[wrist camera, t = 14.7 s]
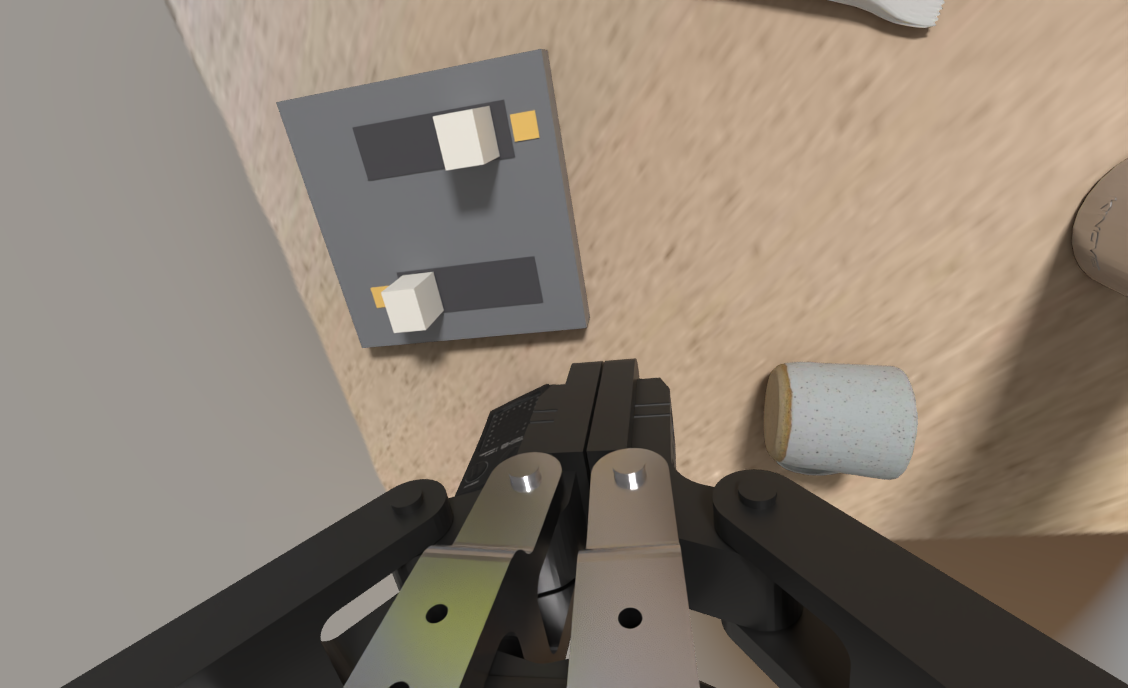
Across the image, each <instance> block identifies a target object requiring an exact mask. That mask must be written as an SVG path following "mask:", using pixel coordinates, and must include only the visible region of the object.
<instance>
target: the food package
mask: <svg viewBox="0 0 1128 688" xmlns="http://www.w3.org/2000/svg"><path fill="white" fill-rule="evenodd" d="M829 1H834V2H838V3H843V4H847V5H851V6H855V7H858V8H861V9H863V10H866V11H869V12H871V13H873V14H875V15H877V16H879V17H881V18H883V19H885V20H888V21H890V22H893V23H896V24H900V25H904V26H910V27H918V28H927V27H931V26H936V24H935V23H934V22H935V21H937V20H938V18H937V17H936V16H938V15H940V13H939V10H941V9H943V8H942V7H941V5H942V4H944V3H945V2H944V1H943V0H829Z"/></svg>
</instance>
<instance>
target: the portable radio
mask: <svg viewBox="0 0 1128 688" xmlns="http://www.w3.org/2000/svg"><path fill="white" fill-rule="evenodd" d="M550 386H551V385H549V384H546V385H543V386H541V387H539V388H537V389H535V390H533V391H531V392H529V393H527V394H524V395H522V396H520V397H518V398H516V399H514V400H512V401H510V402H508V403H506V404H504V405H502V406H500V407H498V408H496V409H494V410H492V411H490V414H489V416H488V419H487V422H486V425H485V427H484V430H483V433H482V435H481V437H480V440H479V442H478V444H477V447H476V449H475V452H474V454H473V456H472V458H471V461H470V463H469V465H468V467H467V470H466V472H465V474H464V477H463V479H462V481H461V483H460V486H459V488H458V490H457V492H456V495H455V497H456V496H459V495H463V494H467V493H471V492H475V491H478V490H481V489H483V487H484V485H485V484H486V482H487V480H488V478H489V476H490V474H491V473H492V471H493V470H494V469H495V468H496V467H497V466H498V465H499V464H500V463H502V462H503V461H505V460H507V459H509V458H511V457H513V456H516V455H517V453H518V450H519V448H520V445H521V443H522V440H523V437H524V435H525V432H526V429H527V427H528V424H530V419H531V416H532V414H533V413H534V409H535V406H536V403H537V401H538V398H539V397H540V396H541V395H542V394H543V393H544V392H545V391H546V390H547V389H548V388H549V387H550Z"/></svg>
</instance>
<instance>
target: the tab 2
mask: <svg viewBox="0 0 1128 688" xmlns="http://www.w3.org/2000/svg"><path fill="white" fill-rule="evenodd" d="M433 120H434V124H435V128H436V132H437V137H438V141H439V145H440V149H441V153H442V157H443V161H444V165H445V169H446V170H452V169H458V168H465V167H471V166H477V165H483V164H486V163H488V162H490V161H492V160H493V159H495V158H497V157H499V156H500V155H499V150H498V145H497V140H496V136H495V131H494V126H493V121H492V116H491V111H490V106H486V107H480V108H475V109H469V110H464V111H458V112H453V113H448V114H443V115H438V116H433Z"/></svg>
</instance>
